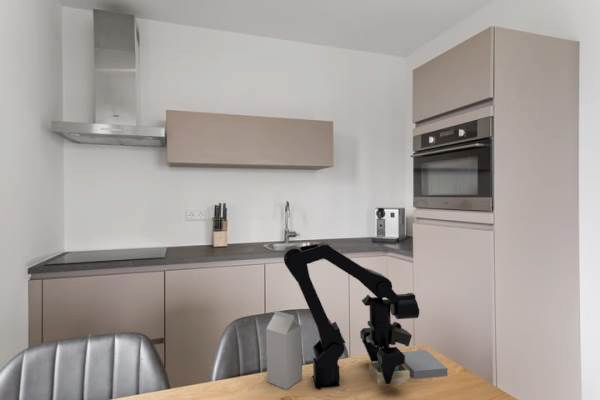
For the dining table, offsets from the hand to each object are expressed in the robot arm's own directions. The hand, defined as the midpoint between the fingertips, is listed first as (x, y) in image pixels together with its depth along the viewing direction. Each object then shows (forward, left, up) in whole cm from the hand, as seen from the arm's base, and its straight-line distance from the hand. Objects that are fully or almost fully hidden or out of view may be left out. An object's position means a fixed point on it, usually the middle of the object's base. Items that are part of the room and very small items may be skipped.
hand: (381, 375), depth 96 cm
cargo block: (+2, 0, -1) cm, 2 cm away
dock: (+14, +4, -1) cm, 14 cm away
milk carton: (-27, +4, -1) cm, 27 cm away
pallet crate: (+2, 0, -2) cm, 3 cm away
